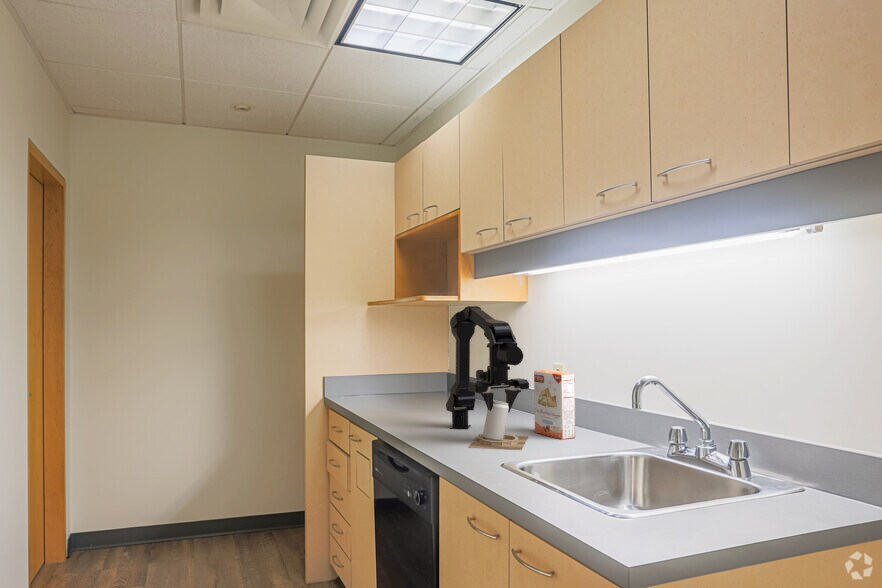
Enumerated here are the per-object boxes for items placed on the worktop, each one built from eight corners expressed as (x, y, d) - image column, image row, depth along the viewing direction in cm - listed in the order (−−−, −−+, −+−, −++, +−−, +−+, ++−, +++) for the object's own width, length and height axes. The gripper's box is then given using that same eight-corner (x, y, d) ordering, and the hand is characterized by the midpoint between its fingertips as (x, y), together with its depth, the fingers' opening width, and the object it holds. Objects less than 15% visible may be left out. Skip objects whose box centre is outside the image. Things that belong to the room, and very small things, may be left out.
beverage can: (478, 437, 199) (486, 399, 200) (487, 436, 205) (494, 398, 205) (497, 443, 196) (504, 404, 196) (506, 441, 202) (512, 403, 202)
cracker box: (533, 433, 216) (532, 370, 216) (547, 431, 219) (547, 368, 219) (561, 440, 203) (560, 373, 204) (576, 438, 207) (575, 372, 207)
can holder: (479, 435, 212) (479, 430, 212) (528, 437, 209) (528, 432, 209) (467, 448, 193) (467, 443, 193) (521, 451, 189) (521, 445, 189)
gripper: (511, 359, 212) (512, 407, 212) (460, 362, 205) (461, 411, 204) (529, 362, 202) (530, 412, 202) (476, 365, 194) (477, 417, 194)
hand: (499, 413), depth 201 cm, fingers closed on beverage can, 6 cm apart
